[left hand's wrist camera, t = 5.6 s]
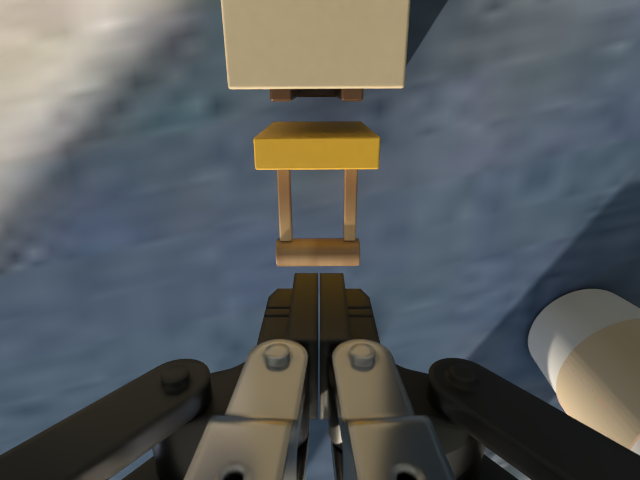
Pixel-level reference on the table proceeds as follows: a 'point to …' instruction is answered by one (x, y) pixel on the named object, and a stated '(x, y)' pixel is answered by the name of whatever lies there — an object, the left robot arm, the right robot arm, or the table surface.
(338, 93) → the drawer
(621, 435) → the coffee cup
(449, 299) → the table surface
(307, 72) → the beige plug-in box
